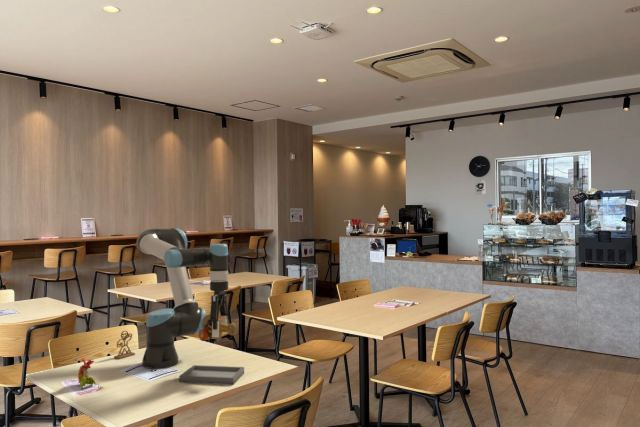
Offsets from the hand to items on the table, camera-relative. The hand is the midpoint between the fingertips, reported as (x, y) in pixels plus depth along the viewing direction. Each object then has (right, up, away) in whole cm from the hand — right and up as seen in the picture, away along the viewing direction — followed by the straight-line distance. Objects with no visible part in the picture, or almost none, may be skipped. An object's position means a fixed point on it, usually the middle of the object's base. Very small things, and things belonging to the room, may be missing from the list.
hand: (219, 334), depth 204 cm
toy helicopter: (0, -3, -1) cm, 3 cm away
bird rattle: (-49, -16, -16) cm, 54 cm away
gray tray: (-1, -16, -7) cm, 17 cm away
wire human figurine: (-49, -17, +24) cm, 57 cm away
